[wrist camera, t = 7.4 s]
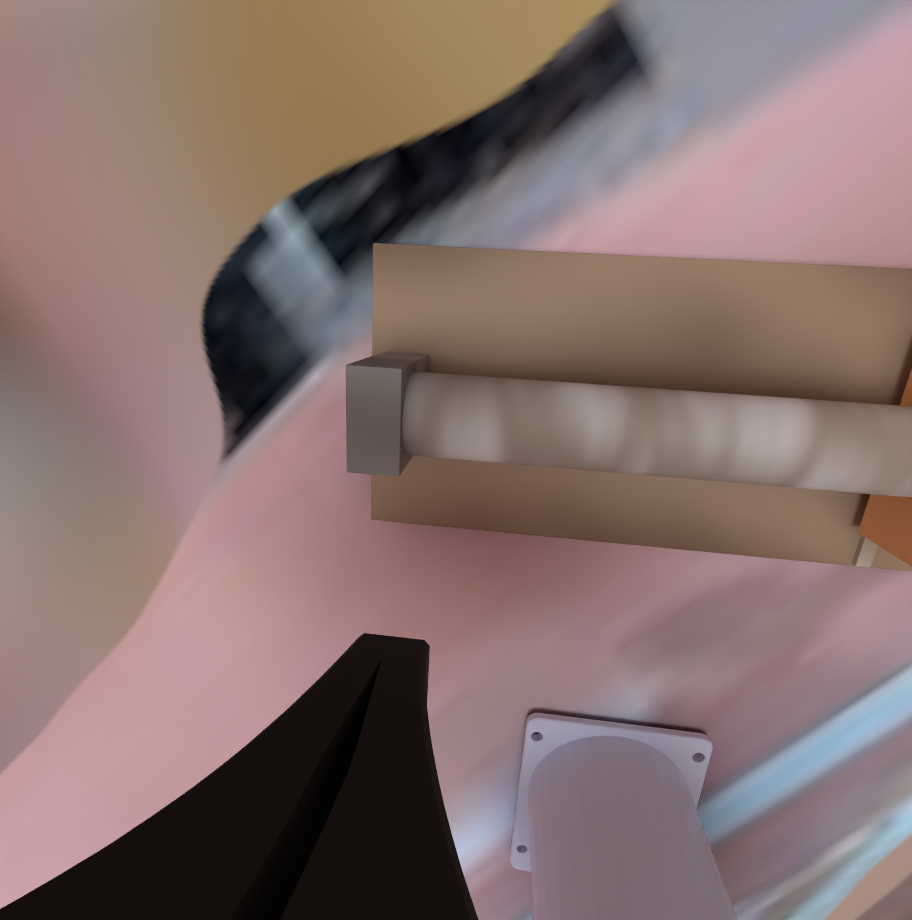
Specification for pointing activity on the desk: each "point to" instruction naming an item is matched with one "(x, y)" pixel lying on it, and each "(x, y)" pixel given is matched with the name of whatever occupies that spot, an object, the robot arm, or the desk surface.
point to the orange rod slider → (891, 514)
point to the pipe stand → (636, 399)
